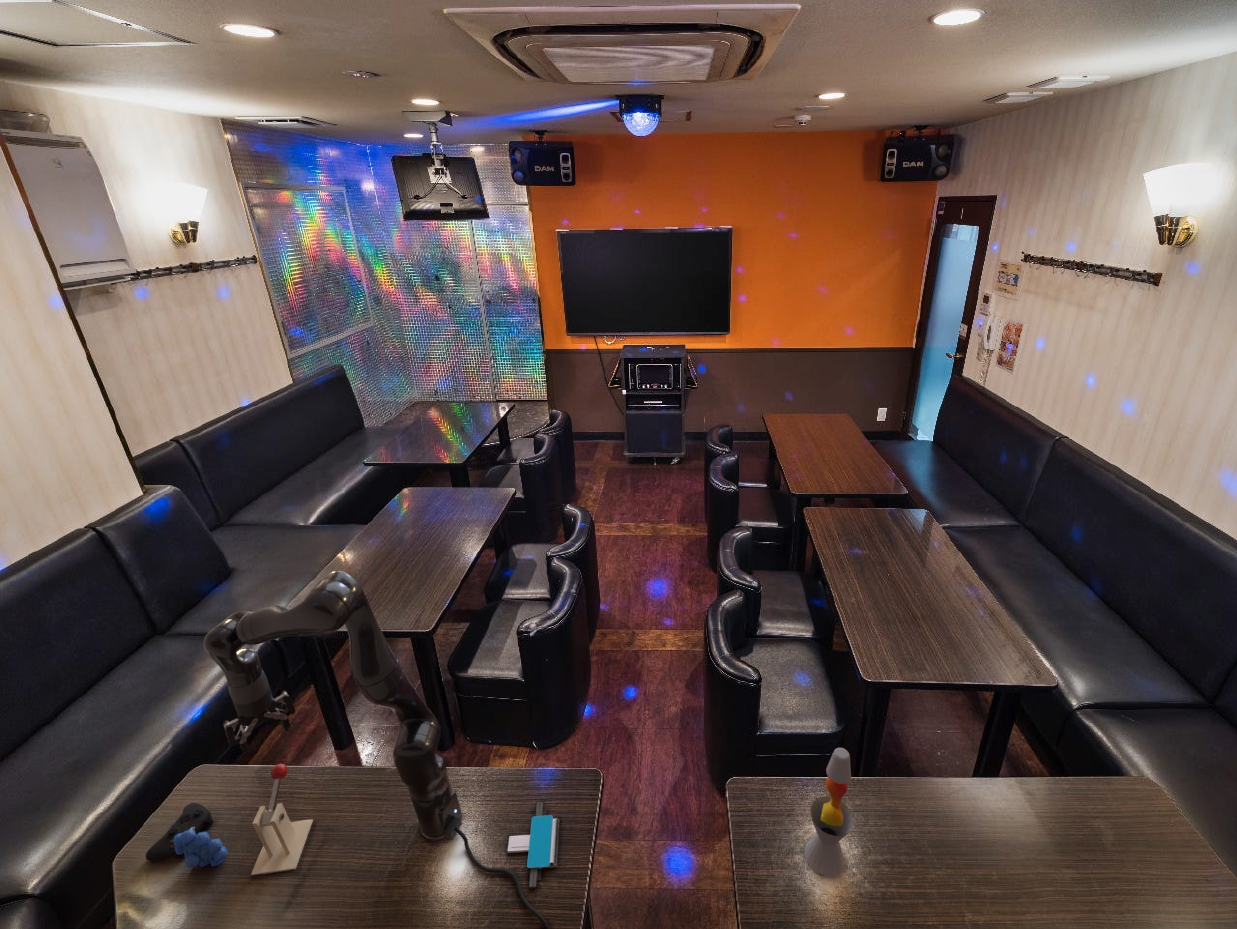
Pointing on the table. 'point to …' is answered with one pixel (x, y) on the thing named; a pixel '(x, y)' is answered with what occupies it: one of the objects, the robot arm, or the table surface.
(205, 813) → the gaming controller
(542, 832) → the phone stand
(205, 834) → the grapes
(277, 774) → the power lever
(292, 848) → the switch bracket
